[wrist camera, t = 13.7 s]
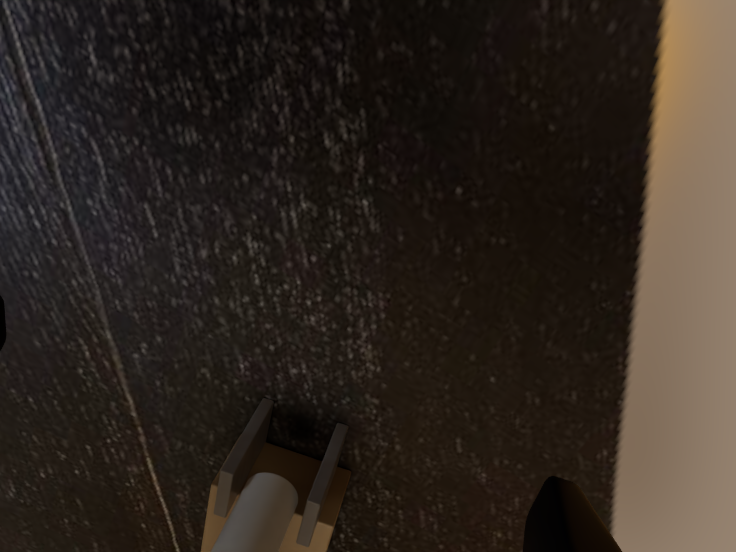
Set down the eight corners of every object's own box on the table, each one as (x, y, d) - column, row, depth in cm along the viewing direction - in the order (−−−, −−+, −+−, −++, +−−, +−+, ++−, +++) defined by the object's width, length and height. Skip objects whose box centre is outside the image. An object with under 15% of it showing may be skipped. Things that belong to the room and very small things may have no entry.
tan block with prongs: (364, 430, 24) (338, 511, 20) (328, 546, 28) (301, 633, 24) (248, 392, 24) (202, 464, 21) (227, 510, 28) (184, 591, 24)
